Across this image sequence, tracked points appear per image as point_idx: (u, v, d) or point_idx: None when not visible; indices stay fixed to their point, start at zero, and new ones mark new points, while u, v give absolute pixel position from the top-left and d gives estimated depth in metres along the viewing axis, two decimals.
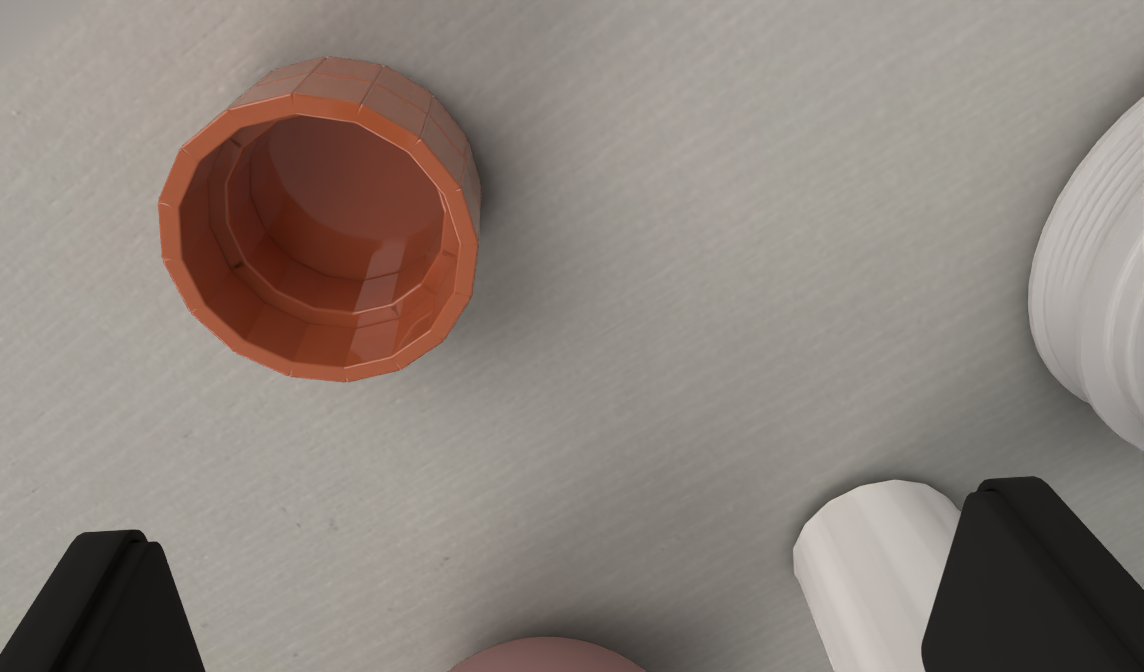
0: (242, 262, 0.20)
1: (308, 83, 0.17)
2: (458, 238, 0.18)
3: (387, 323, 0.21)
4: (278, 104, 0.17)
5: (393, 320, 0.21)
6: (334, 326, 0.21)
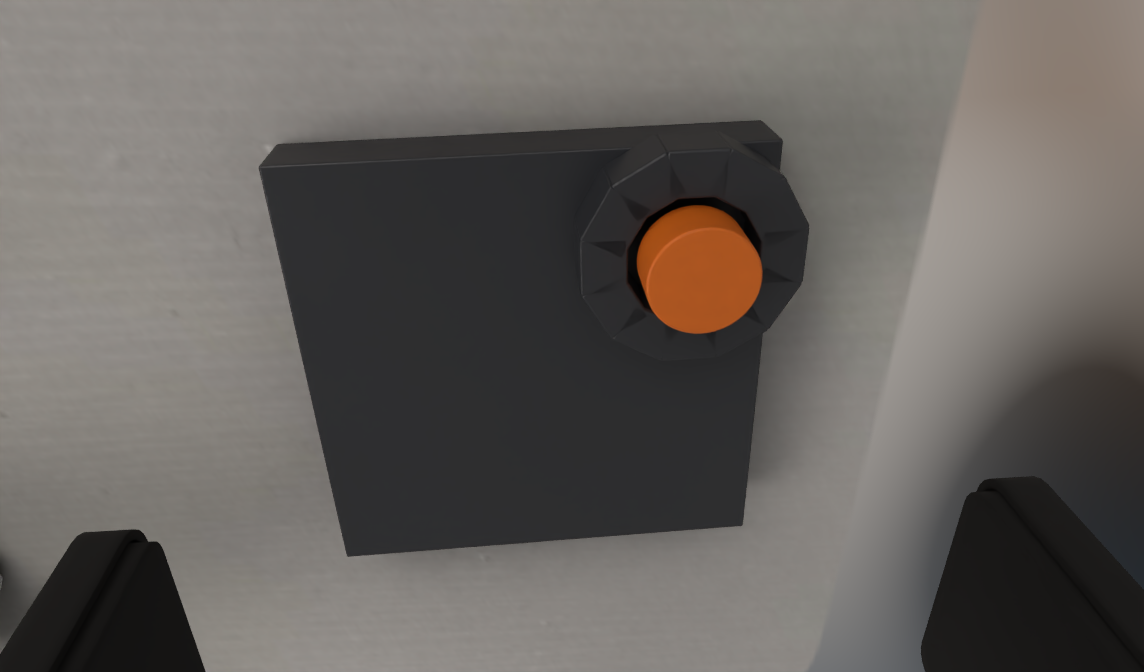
0: None
1: None
2: None
3: None
4: None
5: None
6: None
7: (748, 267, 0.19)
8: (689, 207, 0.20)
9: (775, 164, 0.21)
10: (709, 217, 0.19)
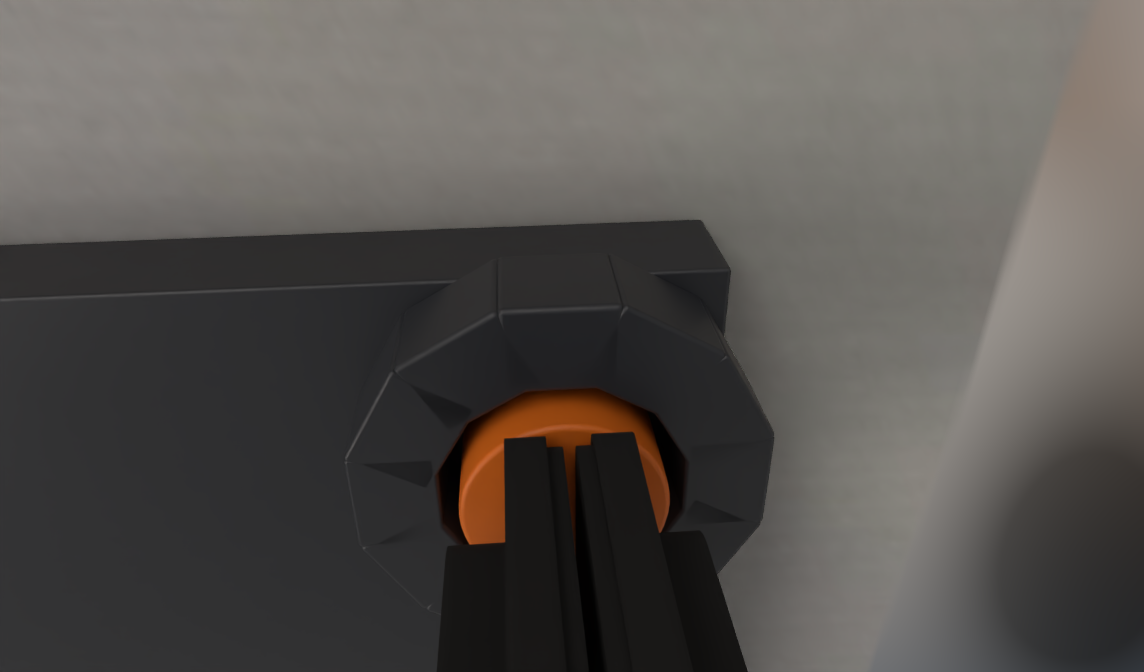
0: None
1: None
2: None
3: None
4: None
5: None
6: None
7: None
8: None
9: (718, 309, 0.12)
10: (575, 396, 0.11)
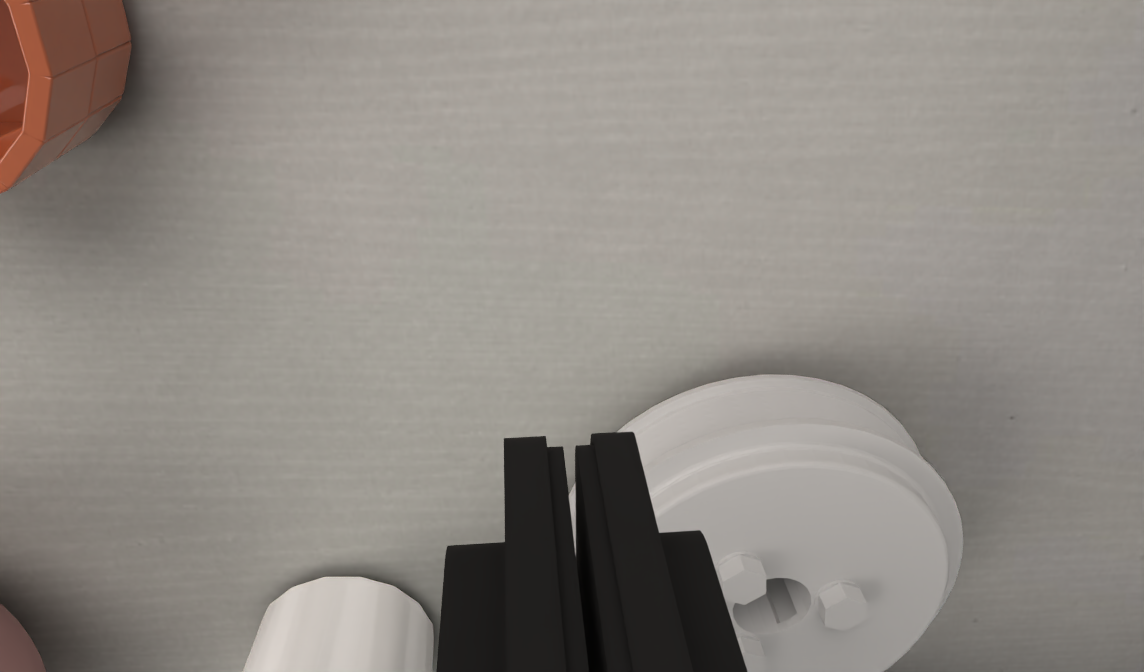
0: None
1: None
2: (23, 124, 0.16)
3: None
4: None
5: None
6: None
7: None
8: None
9: None
10: None
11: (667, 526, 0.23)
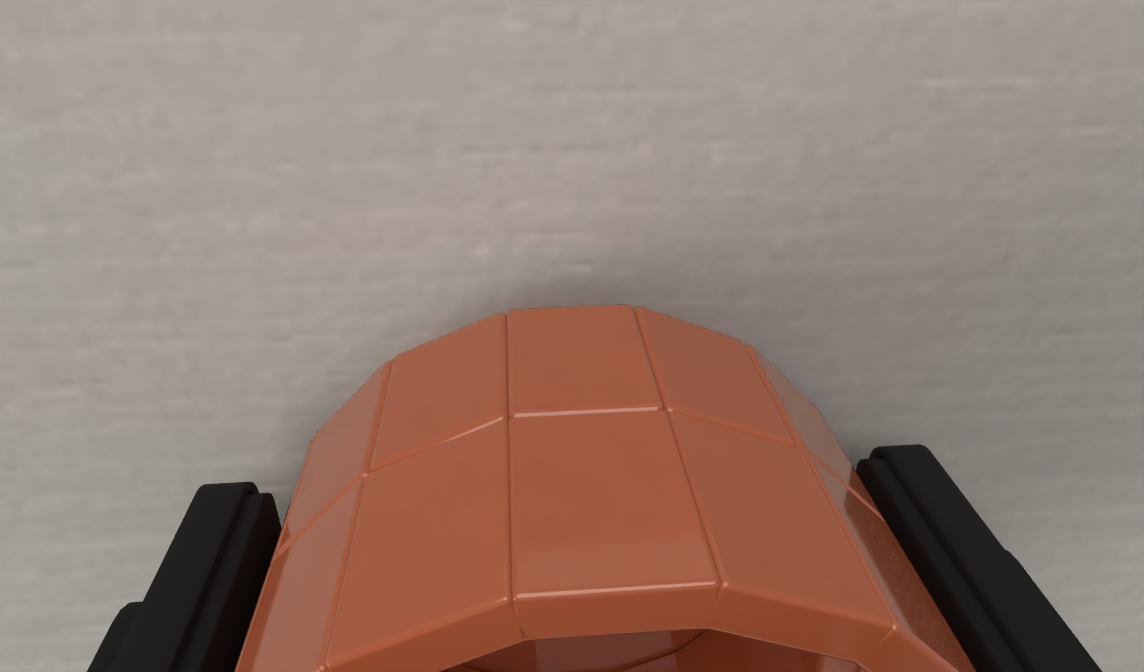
0: None
1: (856, 537, 0.06)
2: None
3: None
4: (841, 628, 0.06)
5: None
6: None
7: None
8: None
9: None
10: None
11: None
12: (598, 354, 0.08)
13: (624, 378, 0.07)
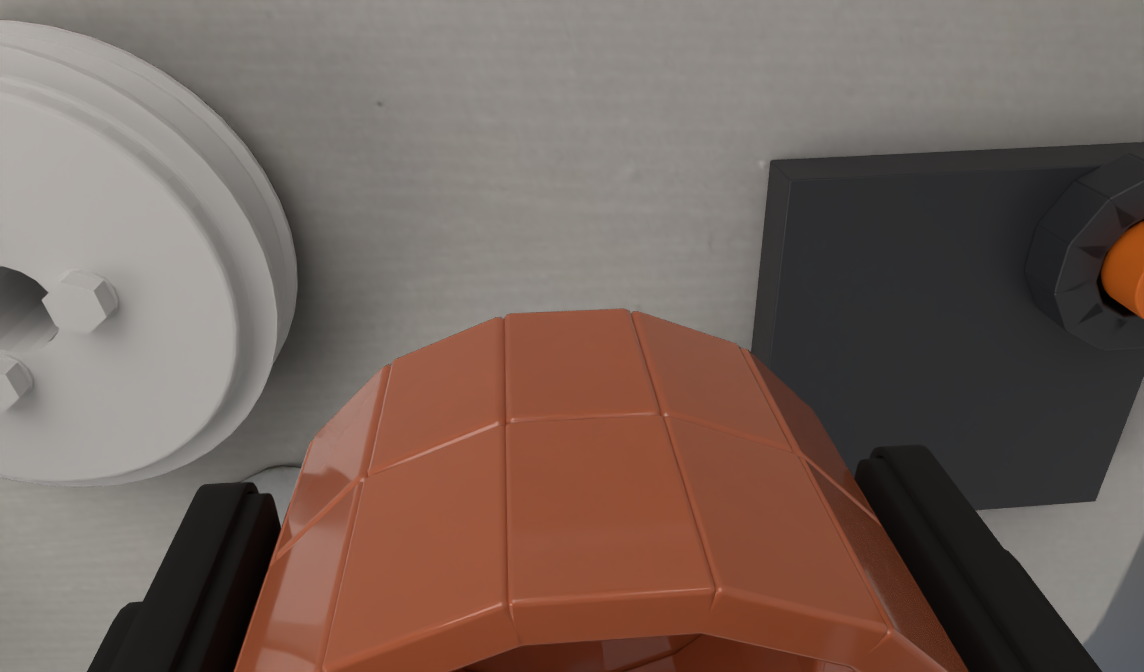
0: None
1: (852, 542, 0.06)
2: None
3: None
4: (836, 633, 0.06)
5: None
6: None
7: None
8: None
9: None
10: None
11: None
12: (595, 358, 0.08)
13: (621, 383, 0.07)
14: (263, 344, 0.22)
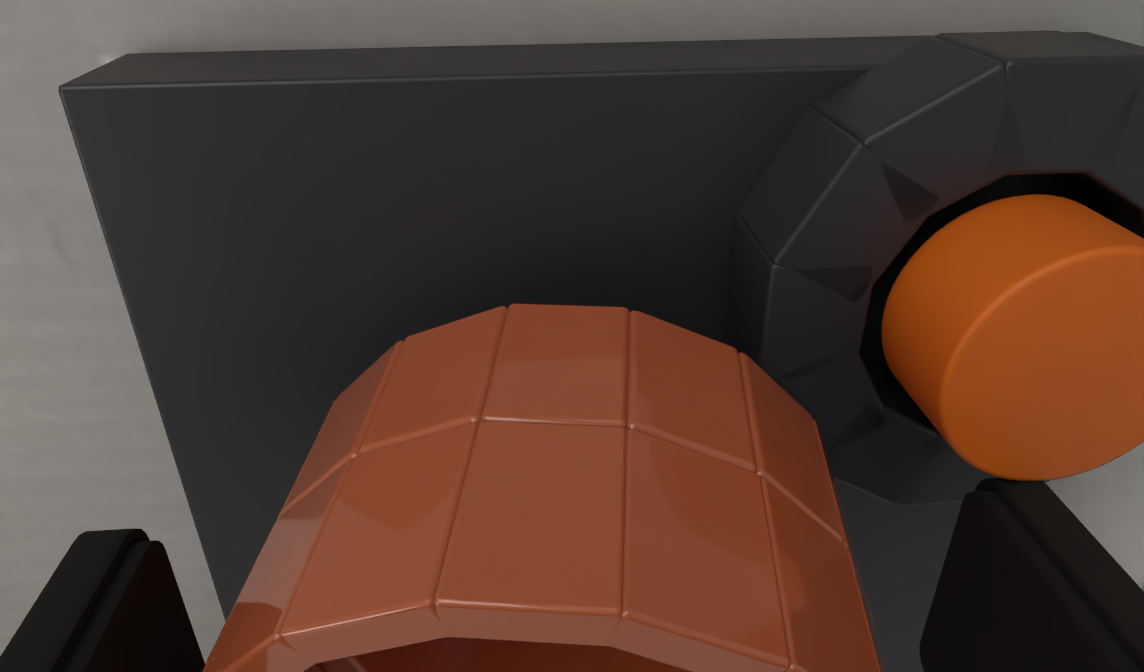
0: None
1: (787, 570, 0.07)
2: None
3: None
4: (739, 662, 0.06)
5: None
6: None
7: None
8: (1024, 198, 0.09)
9: None
10: (1096, 222, 0.08)
11: None
12: (580, 360, 0.08)
13: (596, 389, 0.08)
14: None
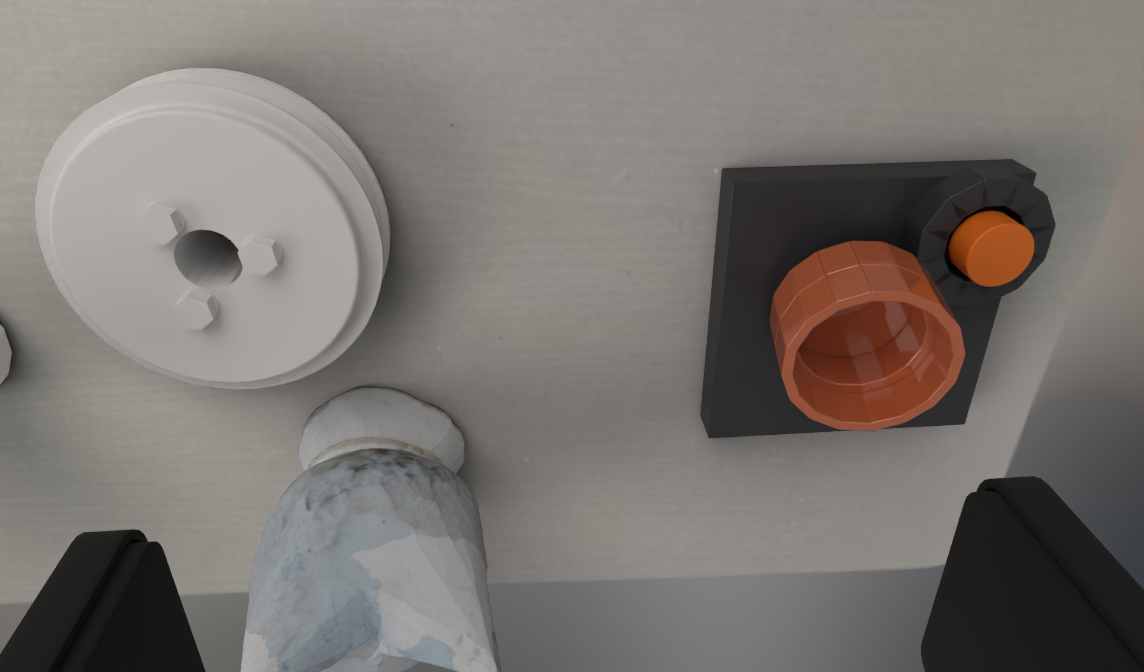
0: None
1: (935, 294, 0.31)
2: (930, 398, 0.33)
3: (827, 391, 0.35)
4: (930, 305, 0.30)
5: (830, 391, 0.35)
6: (801, 375, 0.35)
7: (1027, 247, 0.32)
8: (987, 211, 0.33)
9: None
10: (1004, 217, 0.32)
11: (83, 173, 0.28)
12: (877, 253, 0.32)
13: (885, 258, 0.32)
14: (371, 288, 0.32)
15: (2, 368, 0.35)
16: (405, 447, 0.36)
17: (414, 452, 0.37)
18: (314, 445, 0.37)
